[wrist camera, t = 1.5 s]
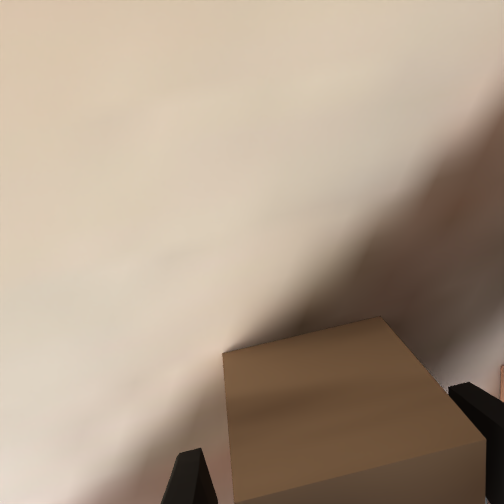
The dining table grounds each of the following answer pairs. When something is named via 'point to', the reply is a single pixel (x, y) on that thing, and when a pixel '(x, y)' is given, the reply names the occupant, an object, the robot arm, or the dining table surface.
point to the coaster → (502, 384)
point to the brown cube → (346, 423)
